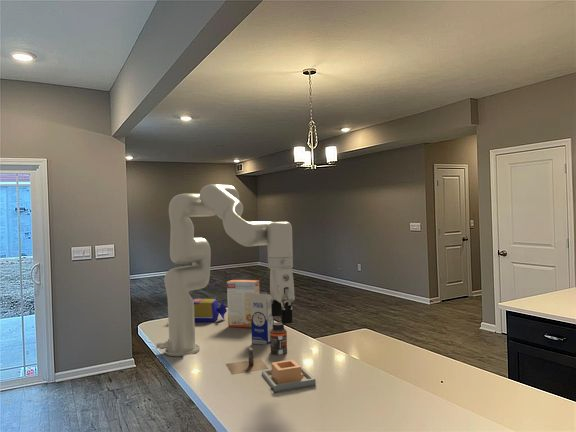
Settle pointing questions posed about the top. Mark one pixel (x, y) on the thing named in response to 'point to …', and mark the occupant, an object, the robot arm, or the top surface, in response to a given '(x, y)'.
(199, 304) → the bread
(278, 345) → the supplement bottle
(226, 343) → the top surface
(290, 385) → the tray
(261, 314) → the milk carton
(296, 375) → the ring
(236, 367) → the brown board with hook
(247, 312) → the cracker box
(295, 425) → the top surface
